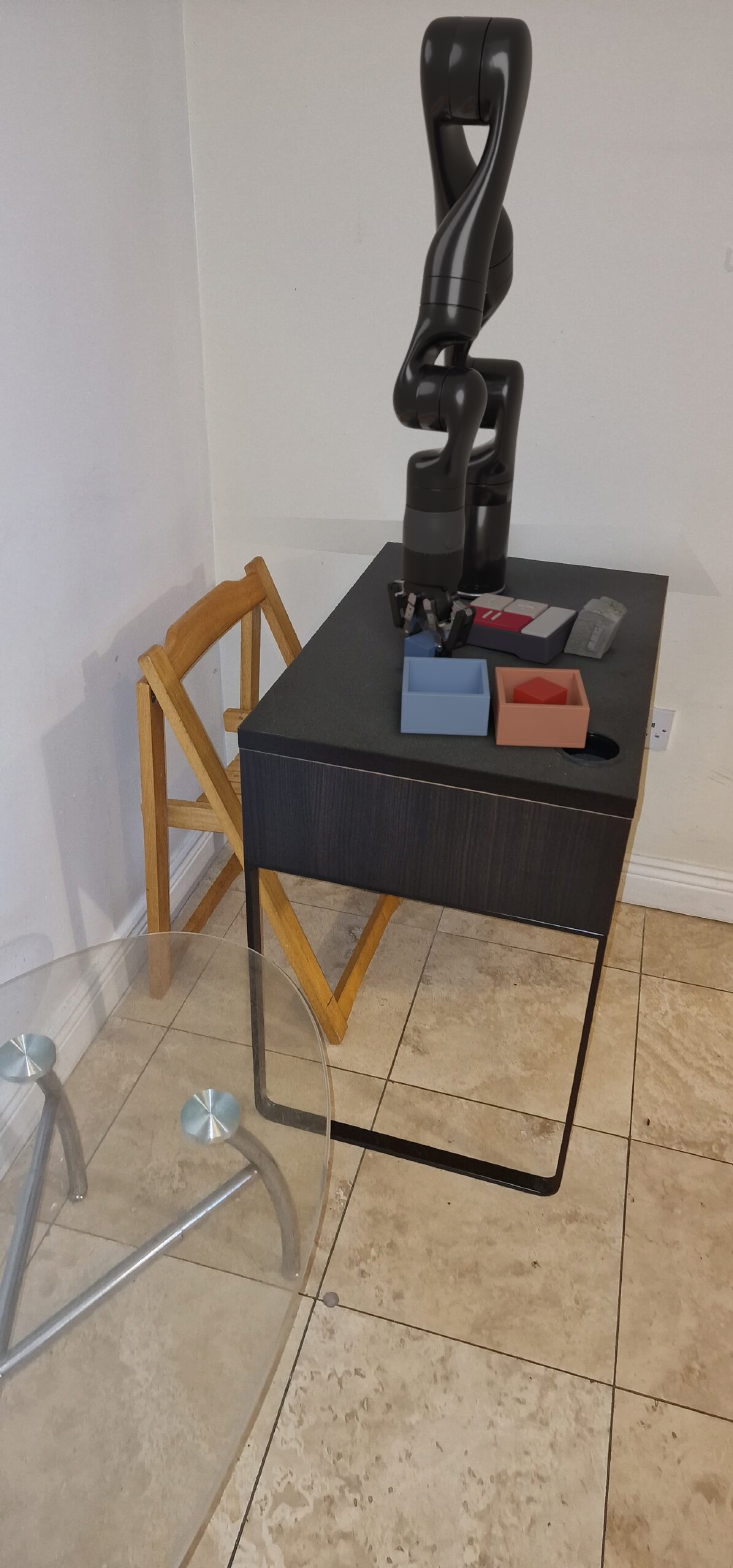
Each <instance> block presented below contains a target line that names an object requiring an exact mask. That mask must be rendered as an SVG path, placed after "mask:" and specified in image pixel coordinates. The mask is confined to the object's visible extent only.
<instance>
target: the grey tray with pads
mask: <svg viewBox="0 0 733 1568" xmlns="http://www.w3.org/2000/svg"><path fill="white" fill-rule="evenodd" d="M465 606H466V607H467V608H468V607H470V606H474V607H475V609H476V615H475V618H474V621H473V624H472V627H471V630H470V633H469V636H468V639H467V642H466V645H472V646H478V647H482V648H486V649H491V650H496V651H502V652H506V653H511V654H515V655H516V656H517V657H518V658H519V659H520V660H525V661H528V662H533V663H538V664H542V665H546V664H549V663H550V662H551V661H552V660H553V659H555V657H557V656H558V655H559V654H560V653H561V652H563V651H564V649H565V647H566V644H567V641H568V639H569V636H570V633H571V631H572V628H573V626H574V623H575V621H576V619H577V618H578V615H579V612H578V611H577V610H575V609H568V608H563V607H559V606H549V604H548V603H543V602H538V601H533V600H526V599H522V598H517V599H516V600H515V598H514V597H510V596H504V595H493V594H488V593H484V594H483V595H481V596H480V597H478V598H477V599H473V600H472V601H471V602H470V603H469V604H466V605H465Z"/></svg>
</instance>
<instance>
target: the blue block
mask: <svg viewBox="0 0 733 1568" xmlns="http://www.w3.org/2000/svg"><path fill="white" fill-rule="evenodd" d="M445 639H446V638H445V635H443V640H445ZM435 650H436V648H435V642H434V636H433V634H431V633H430V630H429V629H426V630H422V632H420V633H418V634H415V635H412V636H410V637H407V638H406V637H405V638H404V650H403V651H404V652H403V653H404V654H403V658H404V657H431V658H434V655H435Z"/></svg>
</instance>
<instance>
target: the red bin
mask: <svg viewBox="0 0 733 1568" xmlns="http://www.w3.org/2000/svg"><path fill="white" fill-rule="evenodd" d="M536 677H541V678H543V679H545V680H548V681H550V682H552V683H555V684H557V685H559V686H561V687H564V688H566V689H568V691H567V699H566V705H545V704H517V703H513V694H514V687H516V686H518V685H521V684H523V683H525V682H527V681H530V680H532V679H534V678H536ZM493 682H494V683H493V689H492V690H493V691H492V702H491V703H492V705H491V706H492V714H493V724H494V734H495V744H496V746H514V747H515V746H516V747H517V746H519V747H542V748H543V747H546V748H571V749H572V748H574V749H585V746H586V739H587V732H588V725H589V719H590V712H591V708H590V704H589V700H588V697H587V693H586V689H585V685H584V682H583V679H582V675H581V671H580V669H568V668H541V667H539V668H538V667H513V666H511V667H510V666H509V667H508V666H495V668H494V680H493Z"/></svg>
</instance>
